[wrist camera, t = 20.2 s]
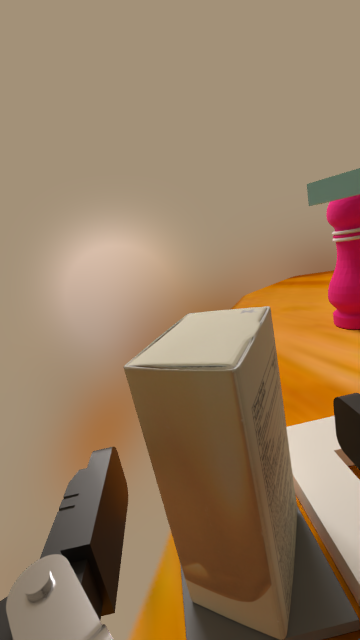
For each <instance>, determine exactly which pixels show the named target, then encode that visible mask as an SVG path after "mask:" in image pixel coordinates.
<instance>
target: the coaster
mask: <svg viewBox="0 0 360 640" xmlns="http://www.w3.org/2000/svg"><path fill="white" fill-rule="evenodd" d="M181 574H182V587H183V600H184V613H185V626H186V638H187V640H280V639H277V638H275V637H272V636H269V635H267V634H265V633H262V632H260V631H257V630H255V629H252V628H250V627H248V626H245V625H243V624H240V623H238V622H236V621H234V620H232V619H229V618H227V617H225V616H223V615H220V614H218V613H216V612H214V611H212V610H210V609H208V608H205V607H203V606H201V605H199V604H196V603H194V602H193V601H192V600H191V598H190V595H189V591H188V587H187V584H186V581H185V577H184V573H183V570H182V566H181ZM357 630H360V623H359V618H358V616H357V614H356V613H355V611H354V609H353V607H352V605H351V604H350V602H349V600H348V598H347V596H346V594H345V593H344V591H343V589H342V587H341V585H340V583H339V582H338V580H337V578H336V576H335V574H334V572H333V571H332V569H331V567H330V565H329V563H328V562H327V560H326V558H325V556H324V554H323V552H322V551H321V549H320V547H319V545H318V543H317V541H316V540H315V538H314V536H313V534H312V532H311V531H310V529H309V527H308V525H307V523H306V521H305V520H304V518H303V516H302V514H301V512H300V510H299V509H298V507H297V529H296V546H295V559H294V573H293V584H292V593H291V604H290V613H289V621H288V629H287V635H286V637H285V638H284V639H282V640H322V639H326V638H330V637H334V636H338V635H342V634H346V633H350V632H354V631H357Z"/></svg>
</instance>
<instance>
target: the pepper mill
mask: <svg viewBox="0 0 360 640" xmlns="http://www.w3.org/2000/svg"><path fill="white" fill-rule="evenodd" d="M327 220H328V222H329V224H330V225H332V226H333V227H334V229H335V231H334V232H332V235H334V236H333V242H336V246H337V263H336V268H335V271H334V274H333V276H332V279H331V282H330V285H329V289H328V299H329V301H330V303H331V304H332V305H333V306H334V307H336V308H337V310H335V311H334V313H333V317H334V324H335V325H336V326H338V327H340V328H345V329H360V195H356V196H352V197H348V198H343V199H339V200H335V201H331V202H330V203H329V205H328V208H327Z"/></svg>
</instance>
